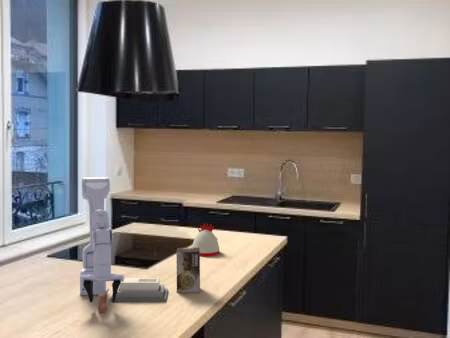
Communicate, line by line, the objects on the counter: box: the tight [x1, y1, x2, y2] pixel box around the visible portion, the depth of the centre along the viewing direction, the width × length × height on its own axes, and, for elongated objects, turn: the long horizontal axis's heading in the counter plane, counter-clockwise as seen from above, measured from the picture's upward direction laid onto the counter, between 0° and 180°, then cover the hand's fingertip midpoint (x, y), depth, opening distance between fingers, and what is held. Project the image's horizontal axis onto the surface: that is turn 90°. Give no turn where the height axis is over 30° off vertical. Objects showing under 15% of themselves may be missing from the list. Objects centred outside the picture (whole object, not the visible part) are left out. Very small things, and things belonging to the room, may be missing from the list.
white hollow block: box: [120, 277, 160, 291], centre depth 199 cm, size 6×14×5 cm, turn 92°
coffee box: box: [175, 247, 201, 294], centre depth 206 cm, size 9×6×16 cm
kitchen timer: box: [191, 223, 220, 257], centre depth 265 cm, size 14×14×15 cm
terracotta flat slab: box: [97, 291, 108, 314], centre depth 183 cm, size 2×5×6 cm, turn 3°
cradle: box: [109, 284, 169, 303], centre depth 199 cm, size 20×12×3 cm, turn 93°
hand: (102, 301), depth 183 cm, fingers open, 7 cm apart
